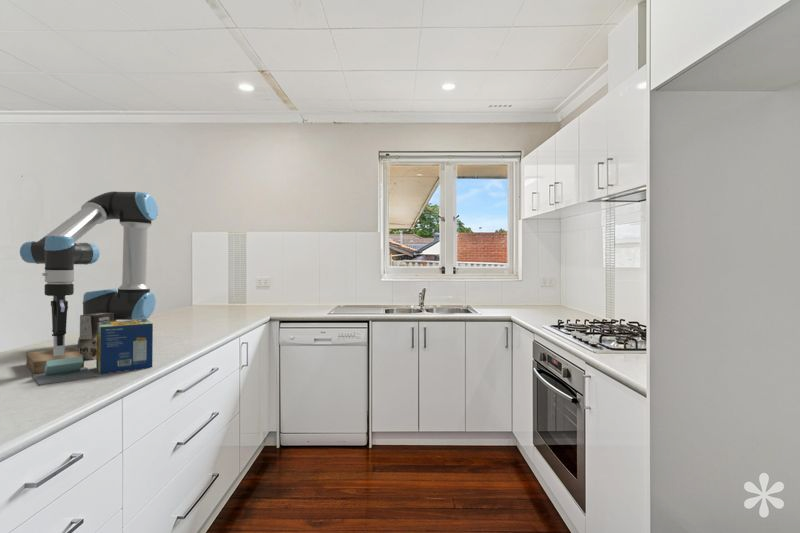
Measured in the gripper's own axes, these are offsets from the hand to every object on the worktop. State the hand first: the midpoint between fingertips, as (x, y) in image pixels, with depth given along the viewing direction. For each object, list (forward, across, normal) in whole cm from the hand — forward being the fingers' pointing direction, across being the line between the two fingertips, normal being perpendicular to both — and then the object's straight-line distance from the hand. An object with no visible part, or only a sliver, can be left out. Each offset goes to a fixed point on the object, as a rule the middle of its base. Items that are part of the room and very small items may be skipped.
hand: (59, 355), depth 143 cm
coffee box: (+6, -16, +14) cm, 21 cm away
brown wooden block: (+5, -9, 0) cm, 10 cm away
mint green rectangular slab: (+2, +5, 0) cm, 6 cm away
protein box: (+6, +8, +17) cm, 19 cm away
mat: (+5, +8, 0) cm, 9 cm away
